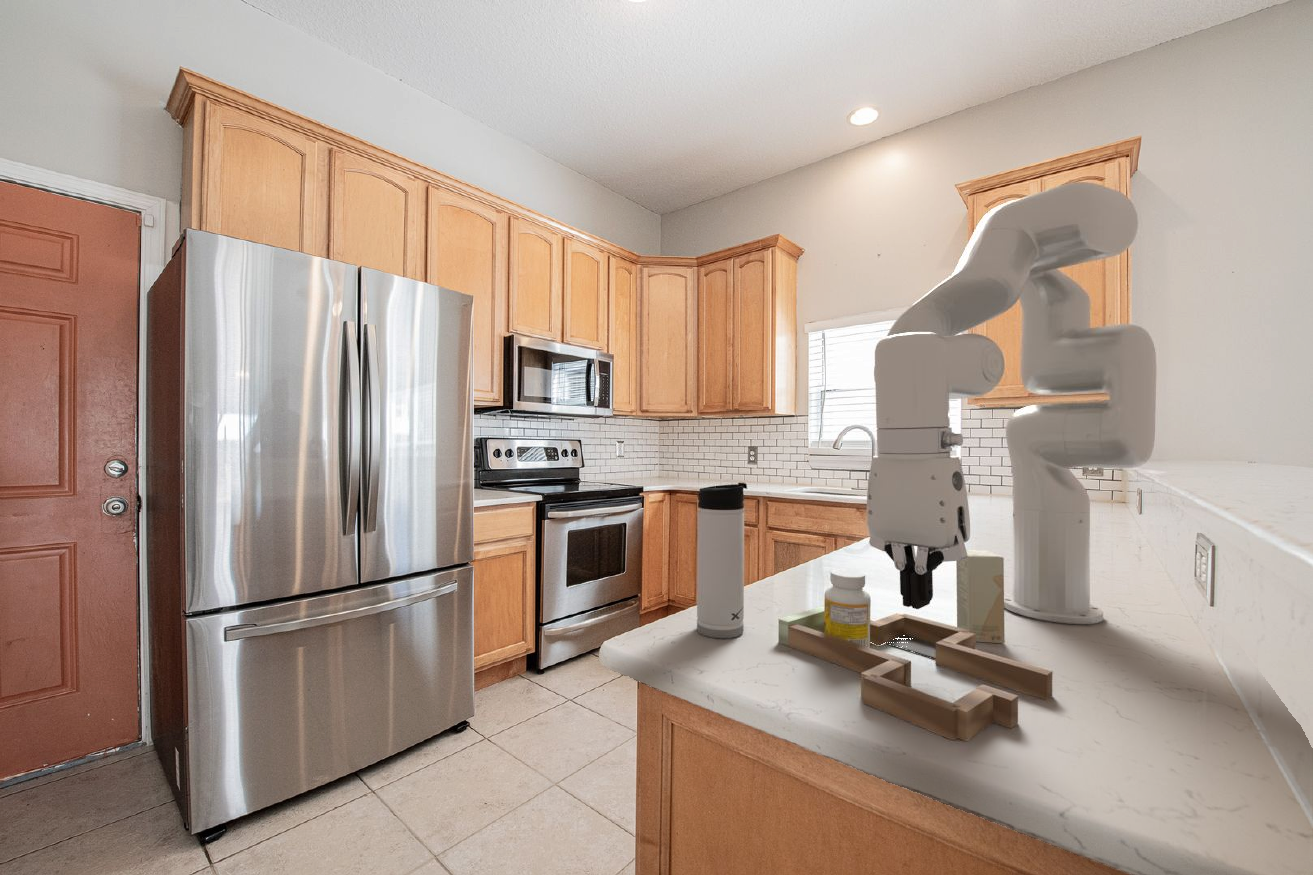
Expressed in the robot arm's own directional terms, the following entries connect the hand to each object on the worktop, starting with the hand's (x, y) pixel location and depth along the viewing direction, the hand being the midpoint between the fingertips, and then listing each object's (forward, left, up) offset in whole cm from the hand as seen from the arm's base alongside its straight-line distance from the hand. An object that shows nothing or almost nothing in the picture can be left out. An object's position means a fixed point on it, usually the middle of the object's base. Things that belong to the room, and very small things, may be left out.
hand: (916, 604), depth 63 cm
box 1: (+1, -1, -7) cm, 7 cm away
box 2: (-17, 0, -7) cm, 18 cm away
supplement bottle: (+2, -8, -7) cm, 11 cm away
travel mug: (+9, -22, -7) cm, 25 cm away
